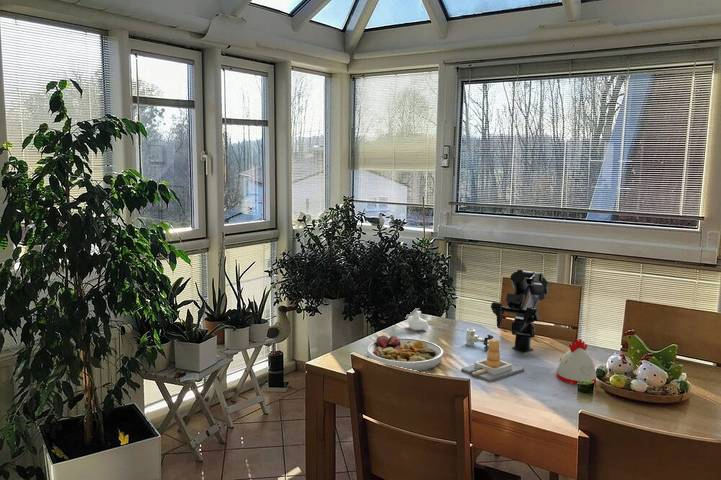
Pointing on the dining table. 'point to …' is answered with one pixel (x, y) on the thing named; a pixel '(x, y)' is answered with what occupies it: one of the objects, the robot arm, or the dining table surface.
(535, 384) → the dining table surface
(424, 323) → the duck figurine
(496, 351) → the tan ribbed cylinder
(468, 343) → the valve
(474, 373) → the plate
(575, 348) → the kitchen timer
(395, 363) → the bowl
